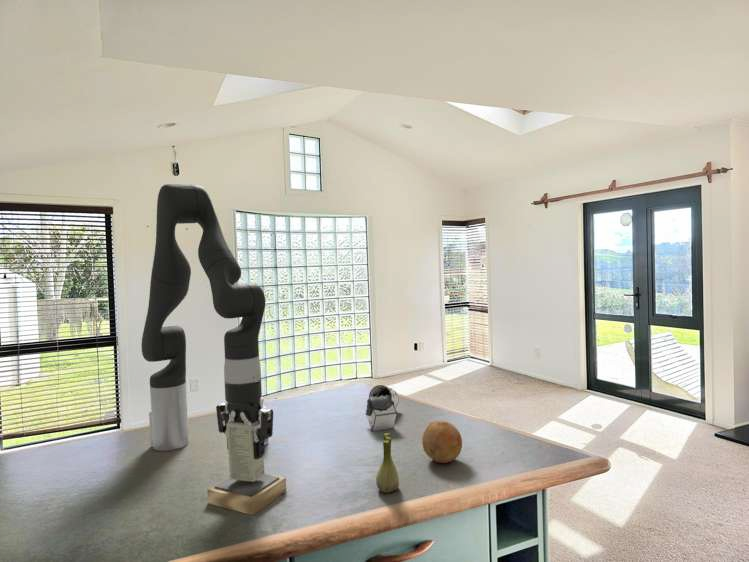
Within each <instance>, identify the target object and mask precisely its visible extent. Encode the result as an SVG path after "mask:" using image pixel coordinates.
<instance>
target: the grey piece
mask: <svg viewBox="0 0 749 562" xmlns="http://www.w3.org/2000/svg"><path fill="white" fill-rule="evenodd" d="M399 400H400V398H399V395H398V392H397V391H396V390H395V389H393V388H391V387H389V386H386V385H384V384H379V385H378V384H377V385H376V386H373V388H372V389H371V390H370V392H369V395H368V399H367V401H366V403H367V404H366V410H365V413H364V414H365V416H366V418H367V421H368V424H369V426H370V428H371V431H372V432H375V431H384V430H389V429H394V428H395V423H396V419H397V416H398V412H397V409H396V408H397V407H398V404H399Z"/></svg>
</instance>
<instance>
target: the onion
mask: <svg viewBox="0 0 749 562" xmlns="http://www.w3.org/2000/svg"><path fill="white" fill-rule="evenodd" d="M421 441H422V448H423V451H424V453H425V454H426V455H427V457H428V458H430V459H431V460H433V461H434V462H437V463H441V464H446V463H450V462H453V461H454V460H456V459H457V458H458V457H459V455H460V453H461V452H462V448H463V437H462V435H461V433H460V431H459V430H458V428H457V427H456V426H455V425H454V424H452V423H451V422H449V421H446V420H436V421H431V422H430V423H429V424H428V425H427V427H426V429H425V430H424V432H423V435H422V440H421Z"/></svg>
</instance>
